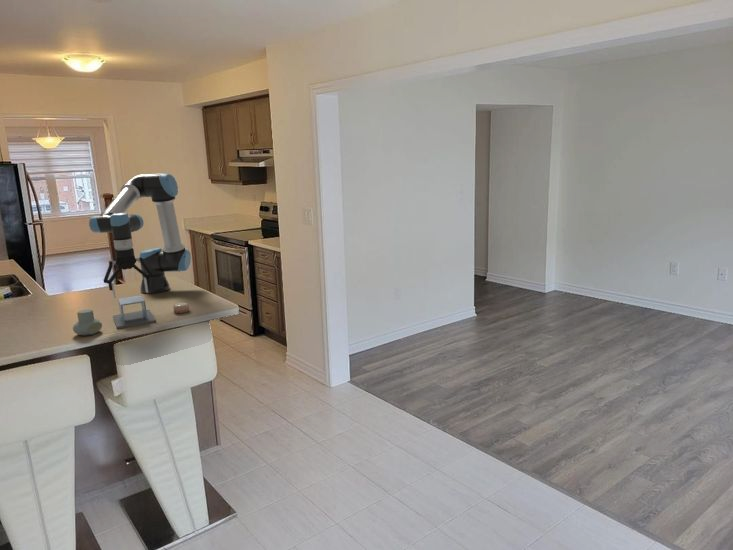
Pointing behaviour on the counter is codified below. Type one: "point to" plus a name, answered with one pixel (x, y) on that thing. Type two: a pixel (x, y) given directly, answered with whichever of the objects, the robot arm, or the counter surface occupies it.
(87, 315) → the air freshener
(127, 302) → the grey arch block
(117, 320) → the mat
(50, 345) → the counter surface
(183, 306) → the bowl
